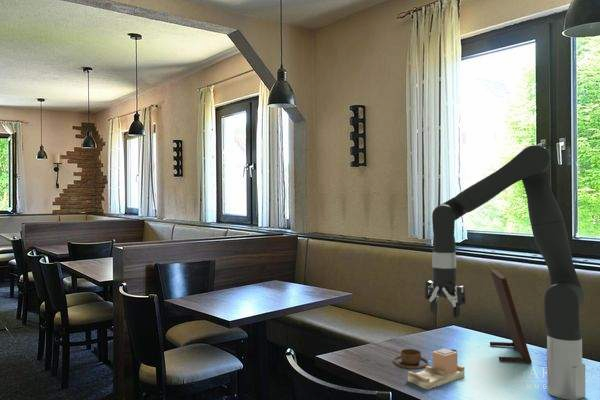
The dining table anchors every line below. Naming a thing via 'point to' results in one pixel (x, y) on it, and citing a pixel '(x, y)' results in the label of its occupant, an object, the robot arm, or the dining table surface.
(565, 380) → the robot arm
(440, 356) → the frame block
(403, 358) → the place setting
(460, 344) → the dining table surface
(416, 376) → the light wooden ridged board
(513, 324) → the picture frame
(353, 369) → the dining table surface
